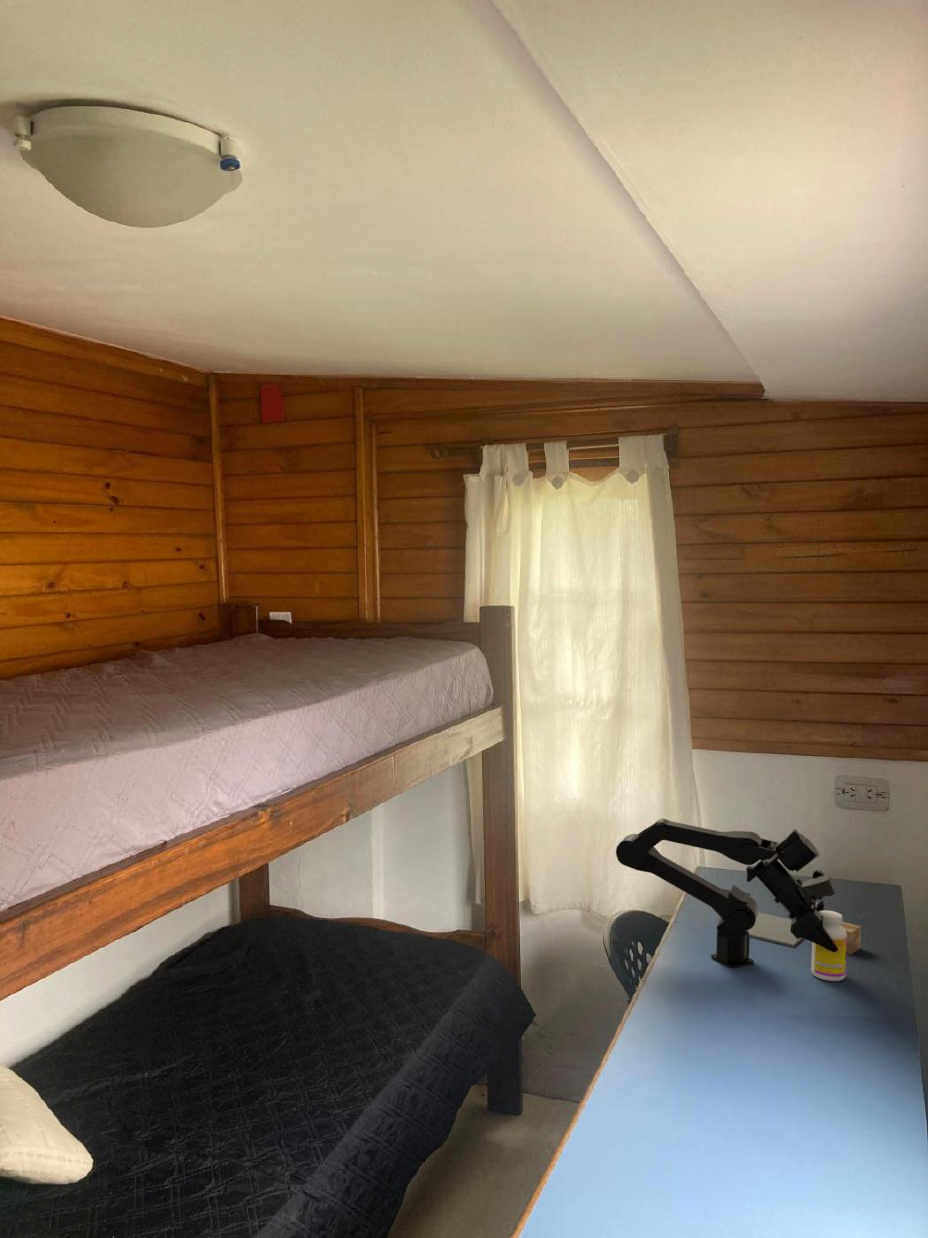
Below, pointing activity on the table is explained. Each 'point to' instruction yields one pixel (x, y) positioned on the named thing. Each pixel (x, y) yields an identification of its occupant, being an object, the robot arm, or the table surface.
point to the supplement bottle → (825, 960)
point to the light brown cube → (852, 937)
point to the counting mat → (773, 930)
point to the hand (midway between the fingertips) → (836, 945)
